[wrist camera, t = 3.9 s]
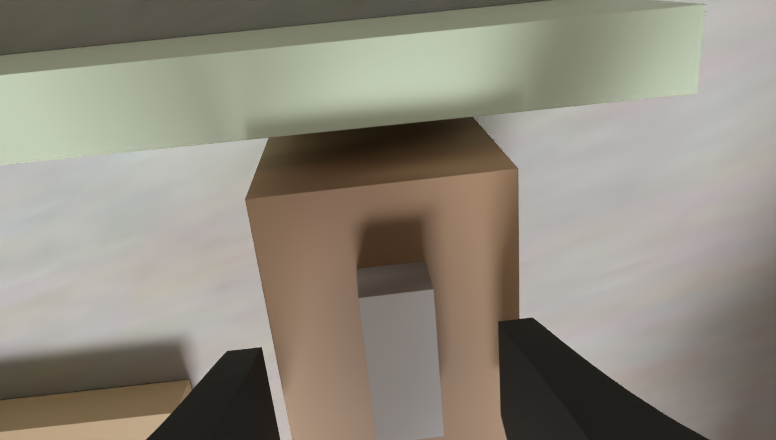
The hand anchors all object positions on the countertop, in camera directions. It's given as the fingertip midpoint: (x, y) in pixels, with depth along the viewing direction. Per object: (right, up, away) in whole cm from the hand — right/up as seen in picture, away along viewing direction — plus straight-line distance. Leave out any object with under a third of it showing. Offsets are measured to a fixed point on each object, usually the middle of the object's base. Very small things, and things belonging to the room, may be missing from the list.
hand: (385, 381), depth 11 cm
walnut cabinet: (0, +3, +6) cm, 7 cm away
